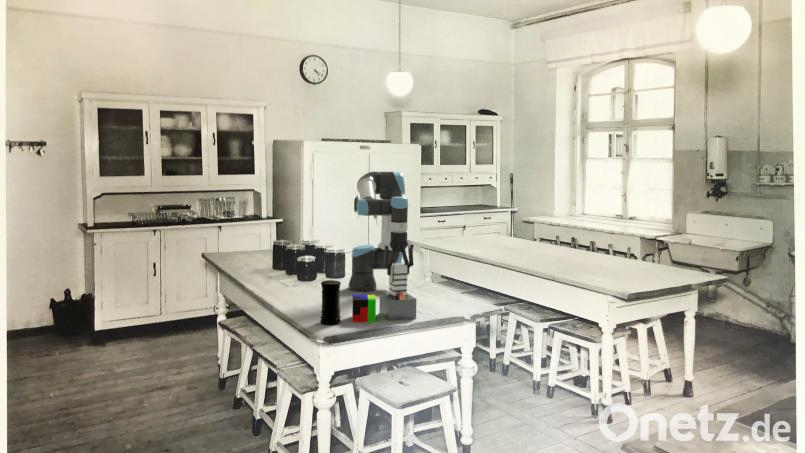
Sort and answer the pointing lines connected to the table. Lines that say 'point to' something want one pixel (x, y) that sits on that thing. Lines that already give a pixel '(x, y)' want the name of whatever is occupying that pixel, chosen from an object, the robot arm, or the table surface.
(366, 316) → the puzzle toy
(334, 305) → the container
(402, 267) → the column
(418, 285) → the table surface
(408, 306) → the housing
